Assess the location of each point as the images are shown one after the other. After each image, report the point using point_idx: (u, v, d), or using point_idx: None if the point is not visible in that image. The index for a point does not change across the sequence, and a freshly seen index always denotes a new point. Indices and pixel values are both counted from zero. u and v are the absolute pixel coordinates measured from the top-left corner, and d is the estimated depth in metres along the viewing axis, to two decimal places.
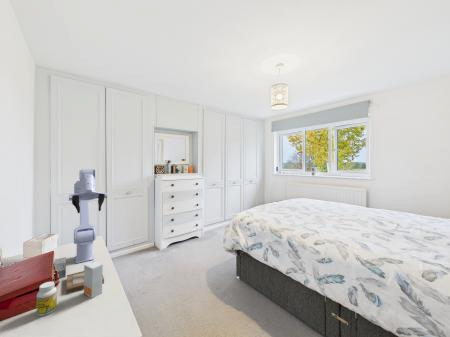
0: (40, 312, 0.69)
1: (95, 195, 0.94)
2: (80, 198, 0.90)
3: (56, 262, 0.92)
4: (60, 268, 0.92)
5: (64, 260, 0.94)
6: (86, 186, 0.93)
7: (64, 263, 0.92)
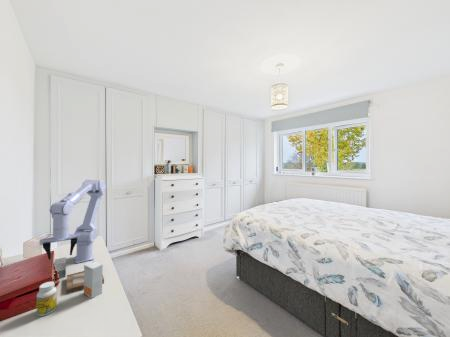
0: (40, 312, 0.69)
1: (67, 238, 0.95)
2: None
3: (56, 262, 0.92)
4: (60, 268, 0.92)
5: (64, 260, 0.94)
6: (58, 232, 0.91)
7: (63, 263, 0.92)
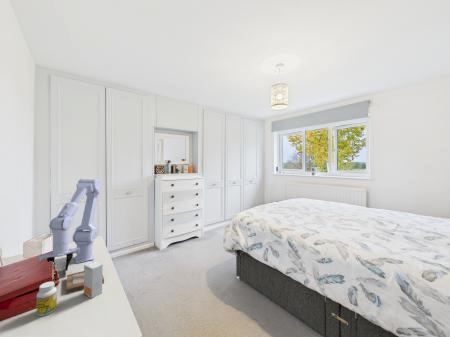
0: (40, 312, 0.69)
1: None
2: None
3: (56, 262, 0.92)
4: (60, 268, 0.92)
5: (64, 260, 0.94)
6: (57, 248, 0.91)
7: (64, 263, 0.92)
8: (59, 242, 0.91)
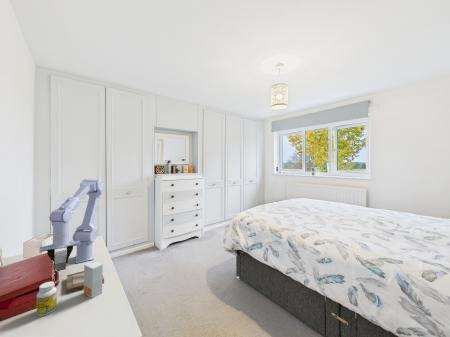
0: (40, 312, 0.69)
1: (67, 246, 0.95)
2: None
3: (56, 254, 0.92)
4: (60, 260, 0.92)
5: (64, 252, 0.94)
6: (58, 240, 0.91)
7: (64, 255, 0.92)
8: (59, 234, 0.91)
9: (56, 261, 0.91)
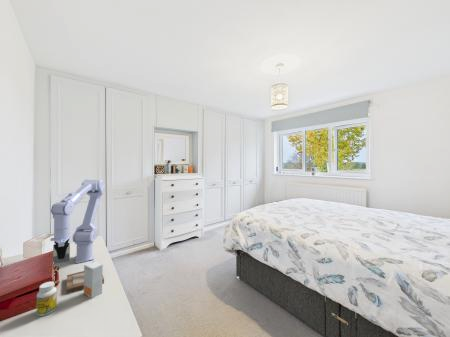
0: (40, 312, 0.69)
1: None
2: None
3: None
4: (53, 252, 0.92)
5: None
6: None
7: (53, 249, 0.91)
8: (61, 227, 0.91)
9: None
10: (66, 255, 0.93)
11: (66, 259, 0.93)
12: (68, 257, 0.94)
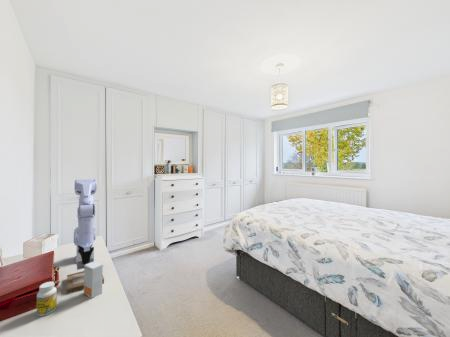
0: (40, 312, 0.69)
1: None
2: None
3: None
4: (77, 257, 0.88)
5: None
6: None
7: (77, 253, 0.87)
8: (90, 230, 0.88)
9: None
10: (90, 260, 0.89)
11: None
12: None
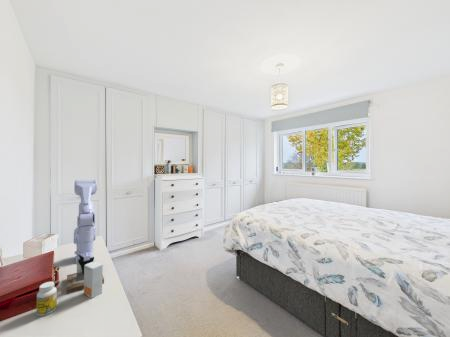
0: (40, 312, 0.69)
1: None
2: None
3: None
4: (77, 268, 0.88)
5: None
6: None
7: (77, 265, 0.87)
8: (89, 239, 0.89)
9: None
10: None
11: None
12: None
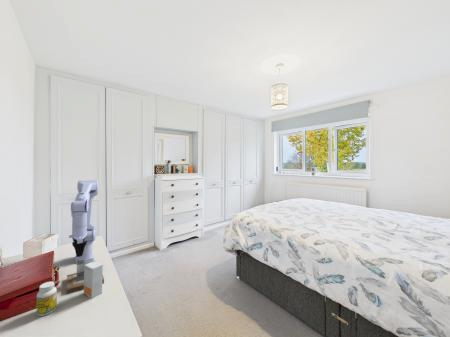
0: (40, 312, 0.69)
1: None
2: None
3: (82, 260, 0.90)
4: (77, 268, 0.88)
5: (83, 263, 0.88)
6: None
7: (77, 265, 0.87)
8: (82, 224, 0.95)
9: None
10: None
11: None
12: None
